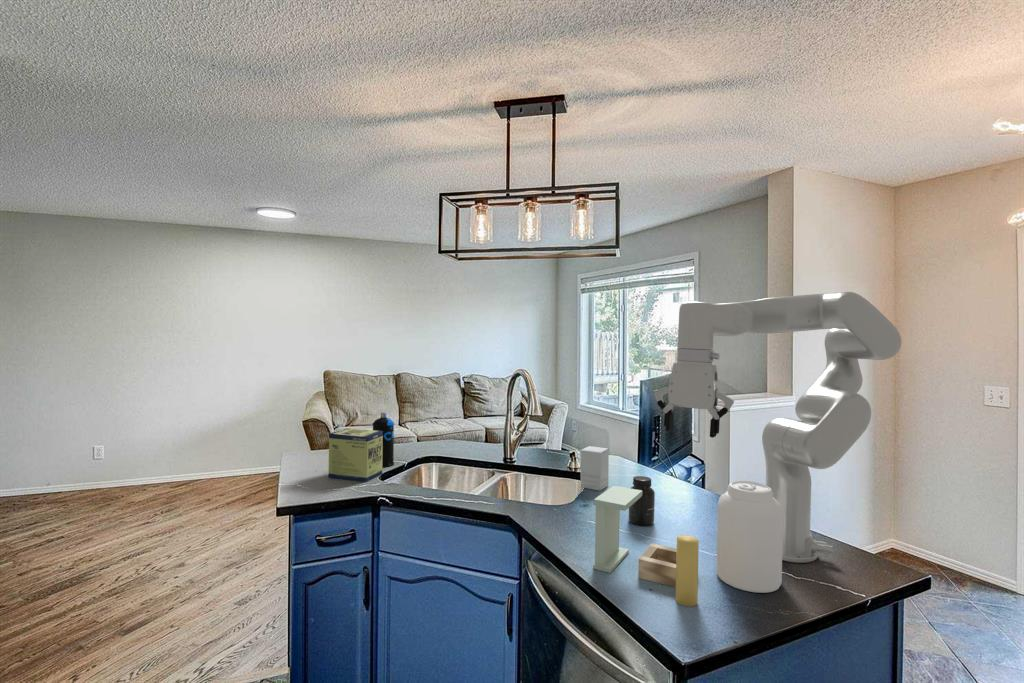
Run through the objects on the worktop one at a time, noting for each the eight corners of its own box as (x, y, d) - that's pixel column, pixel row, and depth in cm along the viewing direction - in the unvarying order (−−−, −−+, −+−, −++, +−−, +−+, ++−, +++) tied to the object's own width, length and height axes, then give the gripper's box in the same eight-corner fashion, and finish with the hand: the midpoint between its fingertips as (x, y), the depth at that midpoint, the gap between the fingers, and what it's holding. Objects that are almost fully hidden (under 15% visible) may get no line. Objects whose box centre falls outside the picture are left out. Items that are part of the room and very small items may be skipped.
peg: (699, 599, 100) (700, 538, 100) (695, 608, 97) (696, 545, 97) (678, 593, 102) (679, 533, 102) (673, 602, 99) (674, 540, 99)
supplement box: (609, 485, 174) (609, 448, 173) (600, 491, 167) (601, 452, 167) (588, 482, 178) (589, 445, 177) (579, 487, 171) (580, 449, 171)
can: (750, 599, 101) (753, 497, 100) (703, 571, 112) (705, 480, 112) (795, 587, 106) (798, 490, 105) (745, 562, 117) (747, 474, 117)
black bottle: (368, 466, 193) (368, 413, 193) (377, 461, 201) (377, 410, 201) (389, 468, 192) (389, 414, 191) (397, 462, 200) (397, 411, 200)
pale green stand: (641, 555, 120) (642, 490, 119) (623, 576, 109) (625, 505, 109) (612, 548, 123) (613, 485, 123) (592, 568, 113) (594, 499, 113)
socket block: (695, 571, 112) (695, 553, 112) (685, 590, 104) (685, 570, 104) (651, 560, 117) (651, 543, 117) (638, 577, 109) (638, 558, 109)
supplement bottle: (655, 527, 137) (655, 482, 137) (628, 525, 138) (629, 480, 138) (653, 518, 144) (654, 475, 143) (628, 516, 145) (628, 473, 145)
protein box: (367, 482, 174) (367, 436, 174) (327, 478, 179) (327, 433, 178) (383, 474, 184) (383, 430, 184) (345, 470, 189) (345, 427, 188)
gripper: (739, 359, 114) (735, 436, 114) (661, 354, 124) (658, 426, 124) (732, 360, 108) (727, 441, 108) (651, 355, 118) (647, 430, 118)
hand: (690, 433), depth 116 cm, fingers open, 9 cm apart
